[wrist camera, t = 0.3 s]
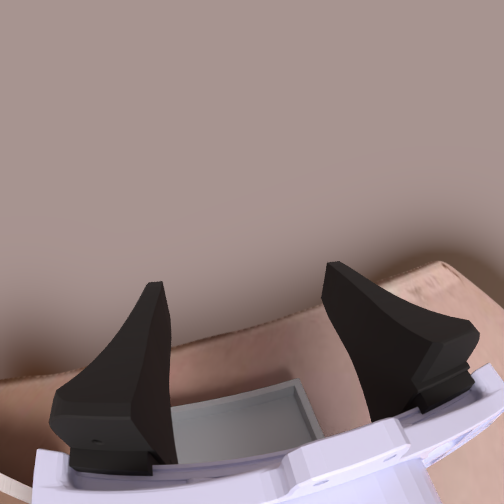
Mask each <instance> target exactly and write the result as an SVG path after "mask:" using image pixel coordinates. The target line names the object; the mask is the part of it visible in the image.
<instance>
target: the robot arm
mask: <svg viewBox="0 0 504 504" xmlns="http://www.w3.org/2000/svg"><path fill="white" fill-rule="evenodd" d="M321 299H322V301H323V304H324V307H325V310H326V312H327V315H328V317H329V319H330V321H331V323H332V324H333V326H334V328H335V330H336V332H337V333H338V335H339V337H340V339H341V341H342V343H343V344H344V346H345V348H346V350H347V352H348V354H349V356H350V358H351V360H352V362H353V365H354V367H355V370H356V373H357V375H358V378H359V381H360V384H361V387H362V390H363V393H364V396H365V399H366V403H367V406H368V410H369V414H370V418H371V422H372V423H370V424H367V425H364V426H361V427H358V428H355V429H352V430H349V431H346V432H343V433H339V434H336V435H333V436H329V437H326V438H322V439H318V440H315V441H312V442H309V443H306V444H303V445H300V446H299V447H296V448H292V449H287V450H283V451H278V452H273V453H268V454H263V455H257V456H251V457H245V458H238V459H231V460H223V461H214V462H204V463H191V464H178V459H177V453H176V447H175V440H174V433H173V425H172V416H171V406H170V394H169V372H170V353H171V322H170V314H169V310H168V305H167V300H166V296H165V291H164V286H163V282H162V281H160V282H149V283H148V284H147V285H146V287H145V289H144V291H143V292H142V294H141V296H140V298H139V300H138V302H137V303H136V305H135V307H134V309H133V310H132V312H131V313H130V315H129V317H128V318H127V320H126V321H125V323H124V324H123V326H122V327H121V329H120V330H119V332H118V333H117V334H116V335H115V337H114V338H113V339H112V341H111V342H110V343H109V344H108V346H107V347H106V348H105V349H104V350H103V351H102V352H101V353H100V354H99V355H98V357H97V358H96V359H95V360H94V361H93V362H92V363H90V364H89V365H88V366H87V367H86V368H85V369H84V370H83V371H81V372H80V373H79V374H78V375H77V376H75V377H74V378H73V379H71V380H70V381H69V382H67V383H66V384H65V385H63V386H62V387H60V388H59V389H57V390H56V393H55V396H54V399H53V403H52V408H51V414H50V419H49V425H50V427H51V429H52V430H53V431H54V432H55V434H56V435H58V436H59V437H60V438H61V439H62V440H63V441H64V442H65V443H66V444H67V445H68V446H70V447H71V448H70V455H68V454H66V453H64V452H59V451H52V450H46V449H40V448H39V449H37V452H36V460H35V468H34V477H33V488H32V503H31V504H442V502H441V499H440V497H439V495H438V493H437V491H436V489H435V487H434V485H433V483H432V481H431V478H430V476H429V474H428V472H427V470H426V468H427V467H429V466H431V465H432V464H434V463H436V462H437V461H439V460H441V459H442V458H444V457H445V456H447V455H449V454H450V453H452V452H453V451H455V450H456V449H458V448H459V447H461V446H462V445H464V444H465V443H466V442H468V441H469V440H471V439H472V438H474V437H475V436H476V435H478V434H479V433H481V432H482V431H483V430H485V429H486V428H487V427H488V426H489V425H491V424H492V423H493V422H494V421H495V420H496V419H497V418H498V417H499V416H500V415H501V414H502V413H503V412H504V382H503V380H502V379H501V378H500V376H499V375H498V374H497V372H496V371H495V369H494V368H493V367H492V365H491V364H490V363H487V364H485V365H484V366H482V367H480V368H479V369H477V370H475V371H474V372H473V373H472V374H471V375H470V374H469V372H468V371H467V370H468V369H469V368H470V366H469V364H468V363H467V362H466V361H467V359H468V358H469V356H470V355H471V353H472V352H473V350H474V349H475V347H476V345H477V343H478V341H479V337H480V333H479V332H478V330H477V329H476V328H475V327H474V325H473V324H472V323H471V322H470V321H469V320H465V319H460V318H455V317H450V316H446V315H443V314H439V313H436V312H433V311H430V310H427V309H424V308H422V307H419V306H417V305H414V304H412V303H410V302H408V301H405V300H403V299H401V298H399V297H397V296H395V295H393V294H392V293H390V292H388V291H386V290H385V289H383V288H381V287H380V286H378V285H376V284H375V283H373V282H371V281H370V280H368V279H367V278H365V277H364V276H362V275H361V274H359V273H358V272H356V271H354V270H353V269H351V268H350V267H348V266H346V265H345V264H343V263H341V262H340V261H337V262H329V263H327V266H326V273H325V279H324V285H323V291H322V297H321Z"/></svg>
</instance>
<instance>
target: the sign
mask: <svg viewBox="0 0 504 504" xmlns="http://www.w3.org/2000/svg"><path fill="white" fill-rule="evenodd" d="M0 491H2V492H4V493H6V494H9V495H11V496H13V497H15V498H18V499H20V500H22V501H25V502H27V503H29V504H31V503H32V488H31V487H29V486H27V485H25V484H22V483H20V482H18V481H16V480H14V479H12V478H10V477H7V476H5V475H3V474H1V473H0Z"/></svg>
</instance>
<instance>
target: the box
mask: <svg viewBox="0 0 504 504" xmlns="http://www.w3.org/2000/svg"><path fill="white" fill-rule="evenodd" d="M171 416H172V425H173V433H174V440H175V447H176V453H177V459H178V464H191V463H204V462H214V461H223V460H231V459H238V458H245V457H251V456H257V455H263V454H268V453H273V452H278V451H283V450H287V449H292V448H296V447H299V446H300V445H303V444H306V443H309V442H312V441H315V440H318V439H322V438H325V437H324V435H323V433H322V430H321V428H320V426H319V423H318V421H317V419H316V416H315V414H314V412H313V409H312V407H311V405H310V402H309V400H308V398H307V395H306V393H305V391H304V388H303V386H302V384H301V381H300V379H299V378H296V379H293V380H290V381H286V382H283V383H279V384H275V385H272V386H268V387H264V388H260V389H257V390H253V391H248V392H244V393H240V394H236V395H231V396H227V397H222V398H218V399H213V400H208V401H203V402H197V403H192V404H186V405H180V406H174V407H171Z"/></svg>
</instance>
